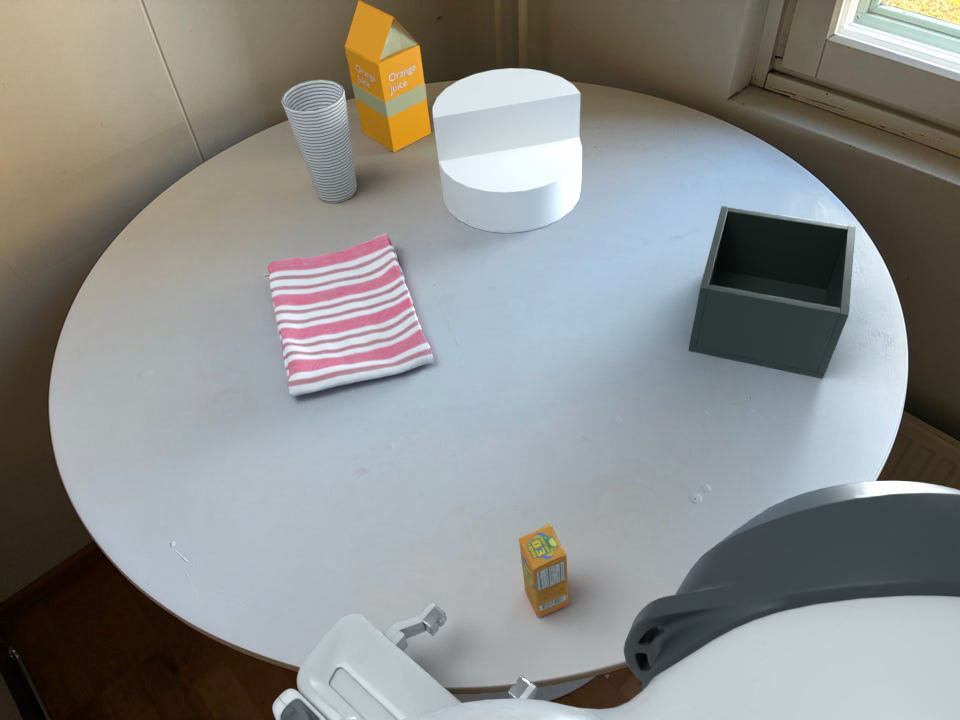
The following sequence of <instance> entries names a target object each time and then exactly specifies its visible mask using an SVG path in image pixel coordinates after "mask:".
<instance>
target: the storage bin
mask: <svg viewBox="0 0 960 720" xmlns="http://www.w3.org/2000/svg"><path fill="white" fill-rule="evenodd" d="M856 229H857V227H856V226H854V225H846V224H840V223H834V222H826V221H820V220H815V219H807V218H801V217H795V216H789V215H788V216H787V215H782V214H776V213H768V212H762V211H756V210H755V211H754V210H749V209H741V208H737V207H729V206H723V205H721V207H720V211H719V214H718V218H717V222H716V225H715V230H714V233H713V238H712V241H711V245H710V248H709V253H708V256H707V260H706V263H705V268H704V272H703V275H702V279H701V282H700V287H699V291H698V296H697V302H696V306H695V312H694V318H693V323H692V329H691V333H690V339H689V342H688V343H689V344H688V349H687V350H688V351H689V352H693V353H698V354H703V355H707V356H708V355H709V356H713V357H718V358H723V359H727V360H733V361H737V362H742V363H746V364H751V365H754V366H755V365H756V366H760V367H765V368H771V369H775V370H780V371H785V372H790V373H794V374H800V375H805V376H809V377H813V378H818V379H824V377H825V375H826V372H827V370H828V367H829V365H830V362H831V360H832V358H833V355H834V353H835V350H836V347H837V345H838V343H839V340H840V338H841V336H842V333H843V331H844V328H845V325H846V322H847V320H848V318H849V313H850V305H851V303H850V302H851V289H852V280H853V279H852V277H853V265H854V252H855V240H856Z"/></svg>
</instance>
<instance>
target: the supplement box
mask: <svg viewBox="0 0 960 720" xmlns="http://www.w3.org/2000/svg"><path fill="white" fill-rule="evenodd" d="M518 542H519V550H520V559H521V567H522V576H523V585H524V592H525V594H526V596H527V598H528V601H529V603H530V606H531V608H532V609H533V612H534V614H535V616H536V617H537V618H538V619H539V618H542V617H545V616H546V615H549V614H551V613H554V612H556V611H558V610H561V609H563V608H566V607H568V606H569V605H570V601H569V600H570V598H569V595H570V594H569V575H568V574H569V573H568V559H567V558H568V557H567V552H566V551H565V549H564V547H563V546H562V544H561V541H560V540H559V538H558V536H557V534H556V531H555V529H554V527H553V525H552V523H548V524H546V525H543V526H542V527H540V528H538V529H535V530H534V531H532V532H530V533H527V534H525V535H524V536H521V537H518Z"/></svg>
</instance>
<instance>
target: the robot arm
mask: <svg viewBox="0 0 960 720" xmlns="http://www.w3.org/2000/svg"><path fill="white" fill-rule="evenodd" d="M447 618H448V617H447V613H446V611H443V610H442V609H441V608H440V607H439V606H437V605H436V603H434V602H430V603H428V605H427V606H426V607H425V608H424V609H423V610H422V611H421V612H420V614H419V615H418V616H417V615H416V616H412V617H410V618H406V619H404V620H401V621H398V622H395V623H393V624H392V625H391V626H390V627H389V628H388V629H387V630H386V631H385V632H384V633H383V632H381V631H380V630H379V629H378V628H377V627H375V626H374V625H373V624H372V623H371V622H370V621H369V620H368V619H366V617H364V616H363V615H362V614H361V613H359V612H356V613H350V614H347V615H344V616H341V617H340V618H339V619H338V620H337V621H336V622H335V623H334V624H333V625H332V626H331V627H330V628H329V629H328V630H327V631H326V632H325V634H323V636H322V637H321V638H320V639H319V641H318V642H317V643H316V645H314V647H313V648H312V649H311V651H310V652H309V654H308V655H307V656H306V657H305V659H304V660H303V662H302V664H301V665H300V667H299V669H298V671H297V675H296V686H297V690H296V689H295V688H288V689H285V690H284V691H283V692H281V694H279V696H278V697H277V698H276V699H275V700H274V702H273V704H272V707H271V708H272V713H273V716H274V718H275V720H960V489H957V488H952V487H949V486H944V485H938V484H934V483H928V482H927V483H926V482H919V481H907V480H906V481H903V480H874V481H861V482H850V483H844V484H837V485H832V486H827V487H821V488H818V489H814V490H811V491H806V492H804V493H800V494H797V495H795V496H792V497H789V498H786V499H785V500H782V501H780V502H778V503H775V504H773V505H772V506H769V507H768V508H766V509H764V510H763V511H762V512H760V513H758V514H757V515H755V516H754V517H752V518H750V519H749V520H748V521H746V522H745V523H743V524H742V525H741V526H739V527H738V528H736V529H734V531H732V532H731V533H730V534H728V535H727V536H726V537H725V538H723V539H722V540H721V541H720V542H718V543H717V544H715V545H714V546H713V547H712V548H710V549H709V550H707V551H706V552H704V554H702V555H701V556H700V557H699V558H698V560H697V561H696V562H695V563H694V564H693V566H691V568H690V570H689V571H688V573H687V574H686V575H685V577H684V579H683V580H682V582H681V584H680V585H679V587H678V589H677V590H676V592H675V594H670V595H666V596H662V597H659V598H656V599H654V600H652V601H650V602H648V603H647V604H646V605H645V606H644V607H643V608H642V609H640V611H639V612H638V613H637V615H636V617H635V618H634V620H633V622H632V623H631V627H630V629H629V632H628V633H627V636H626V638H625V640H624V644H623V655H624V660H625V663H626V665H627V666H628V669H629V670H630V672H632V673H633V675H634V676H635V677H636V678H637V679H638V680H640V681H641V689H642V690H641V691H640V692H639V693H638V694H637V695H635V696H634V697H632V699H630V700H629V701H627V702H625V703H622V704H620V705H617V706H614V707H608V708H600V709H599V708H587V707H585V708H584V707H577V706H572V705H566V704H562V703H558V702H553V701H548V700H543V699H535V698H536V695H538V687H537V686H536V685H535V684H534V683H533V682H531V681H530V680H529V679H527V678H526V677H525V676H524V675H520V676H519V677H518V678H517V679H516V683H515V684H513V685H511V687H510V688H509V690H508V691H507V696H508V698H495V699H491V698H490V699H482V700H481V699H480V700H473V701H467V702H461V701H460V700H459V699H458V698H457V697H456V696H454V694H452V693H451V691H449V690H448V689H446V688H445V687H444V686H443V685H442V684H441V683H440V682H439V681H438V680H436V679H435V678H434V677H433V676H432V675H431V674H430V673H429V672H427V671H426V670H425V669H423V667H422V666H420V665H419V664H418V662H416V661H415V660H413V659H412V657H410V656H409V655H408V654H406V653H405V652H404V651H405V650H406V649H407V648H408V646H409V643H408V641H407V639H410V638H412V637H415V636H417V635H420V634H422V633H425V632H427V633H428V634H429V635H431V636H432V637H435V635H436V634H437V633H438V632H439V630H440V627H443V626H444V625H445V623H446V622H447Z"/></svg>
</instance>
